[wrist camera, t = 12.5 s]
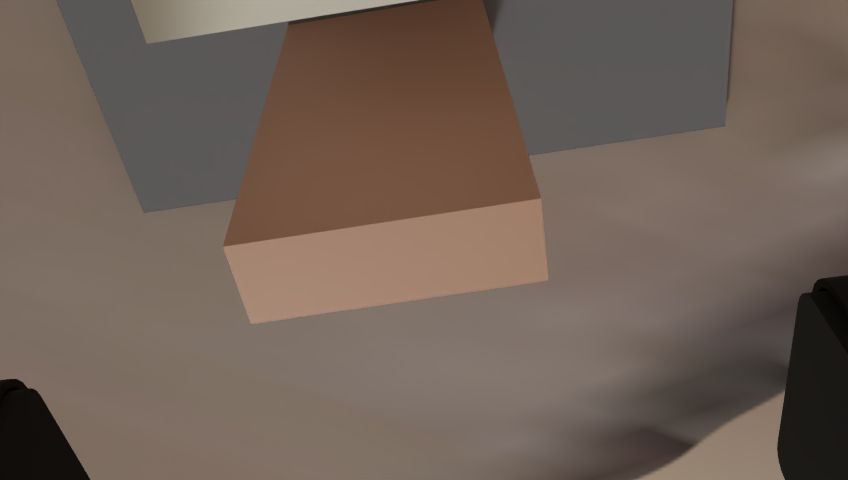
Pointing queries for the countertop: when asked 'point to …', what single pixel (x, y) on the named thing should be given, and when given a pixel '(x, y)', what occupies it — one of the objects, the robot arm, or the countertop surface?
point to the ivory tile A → (232, 14)
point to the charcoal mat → (504, 3)
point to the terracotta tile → (385, 168)
